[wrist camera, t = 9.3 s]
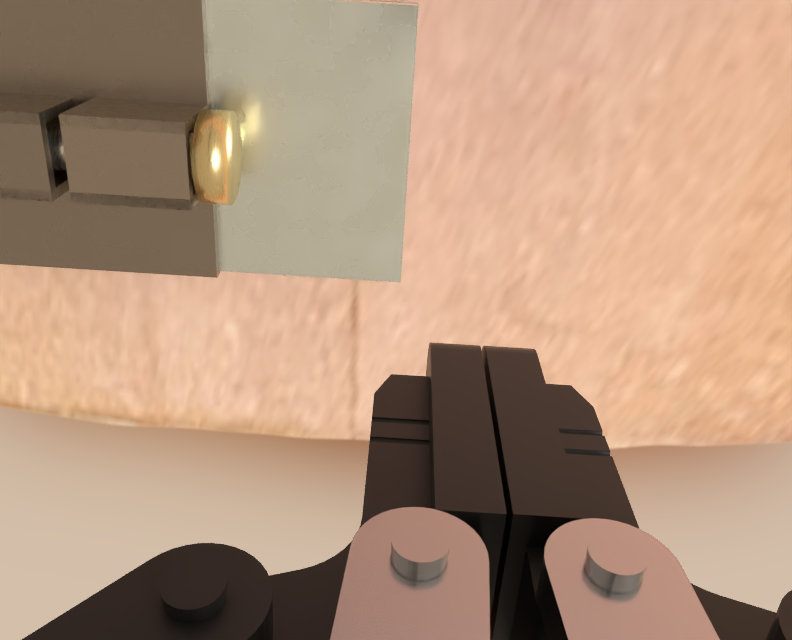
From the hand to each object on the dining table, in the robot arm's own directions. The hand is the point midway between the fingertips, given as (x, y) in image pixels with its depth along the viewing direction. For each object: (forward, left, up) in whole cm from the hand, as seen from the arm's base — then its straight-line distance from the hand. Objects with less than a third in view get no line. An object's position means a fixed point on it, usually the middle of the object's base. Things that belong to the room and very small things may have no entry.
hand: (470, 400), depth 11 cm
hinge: (+5, -13, -35) cm, 38 cm away
